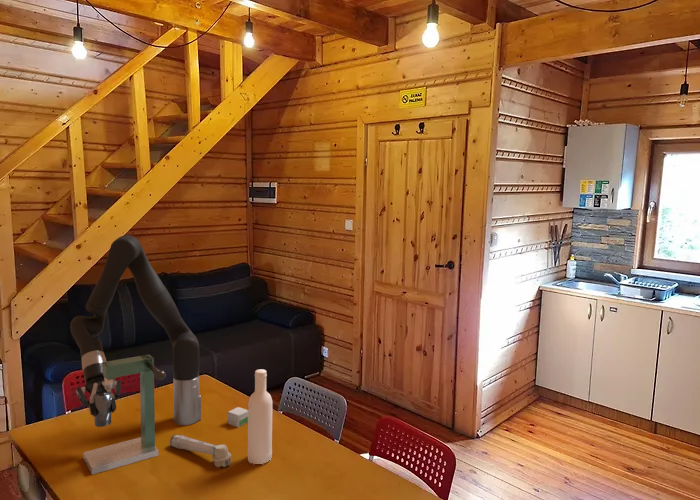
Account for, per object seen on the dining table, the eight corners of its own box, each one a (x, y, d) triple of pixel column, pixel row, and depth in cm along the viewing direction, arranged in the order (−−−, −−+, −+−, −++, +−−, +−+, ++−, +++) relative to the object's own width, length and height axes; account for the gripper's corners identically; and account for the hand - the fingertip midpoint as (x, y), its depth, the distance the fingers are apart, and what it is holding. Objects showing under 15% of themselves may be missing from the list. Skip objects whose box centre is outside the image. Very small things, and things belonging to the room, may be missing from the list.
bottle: (276, 455, 171) (277, 368, 167) (264, 467, 163) (265, 376, 160) (255, 451, 173) (255, 365, 170) (242, 462, 166) (243, 373, 163)
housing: (109, 418, 173) (108, 389, 172) (113, 424, 169) (112, 394, 168) (93, 422, 170) (92, 392, 168) (96, 428, 166) (95, 397, 165)
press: (147, 440, 178) (145, 351, 174) (167, 467, 162) (166, 369, 158) (83, 458, 165) (80, 362, 162) (99, 488, 149) (96, 382, 146)
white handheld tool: (179, 431, 178) (233, 441, 165) (181, 450, 178) (235, 461, 165) (167, 437, 173) (221, 448, 160) (169, 457, 173) (223, 469, 161)
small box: (238, 427, 190) (238, 415, 189) (227, 423, 193) (227, 411, 192) (248, 422, 195) (249, 410, 194) (237, 418, 198) (237, 406, 197)
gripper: (73, 365, 168) (81, 414, 160) (119, 358, 177) (129, 403, 169) (70, 376, 173) (78, 423, 165) (115, 368, 182) (125, 413, 174)
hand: (104, 413), depth 167 cm, fingers closed on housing, 5 cm apart
